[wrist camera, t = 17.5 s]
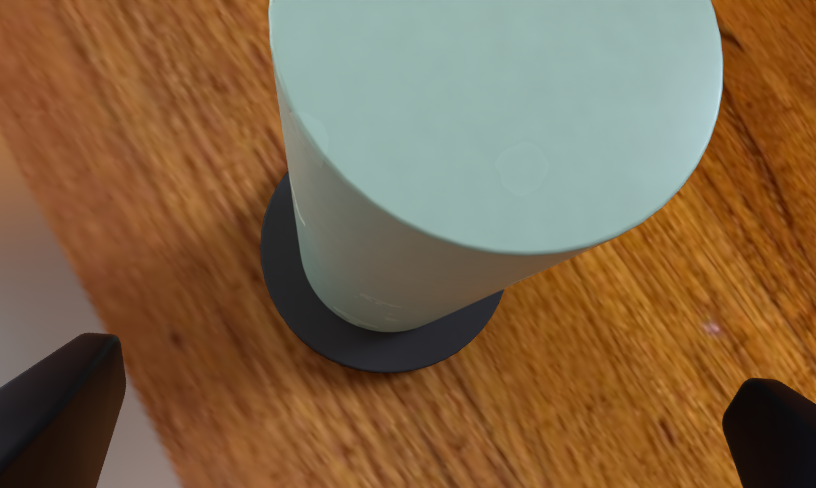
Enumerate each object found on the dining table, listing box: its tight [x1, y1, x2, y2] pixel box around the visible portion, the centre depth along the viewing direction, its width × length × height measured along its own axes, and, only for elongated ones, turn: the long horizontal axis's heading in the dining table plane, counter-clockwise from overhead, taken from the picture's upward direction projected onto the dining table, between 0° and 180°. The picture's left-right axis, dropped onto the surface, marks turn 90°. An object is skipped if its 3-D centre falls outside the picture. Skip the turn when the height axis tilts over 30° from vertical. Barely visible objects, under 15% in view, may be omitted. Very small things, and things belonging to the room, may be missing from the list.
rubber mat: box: [260, 171, 504, 373], centre depth 19 cm, size 8×8×1 cm
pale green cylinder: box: [268, 0, 723, 332], centre depth 13 cm, size 6×6×12 cm
